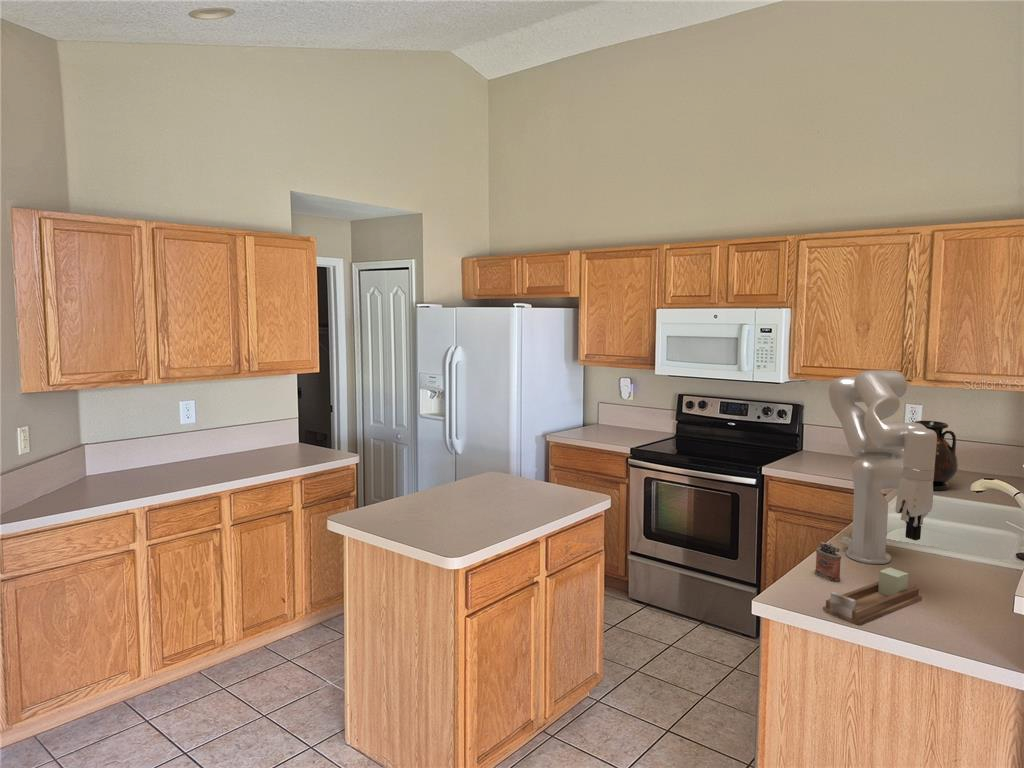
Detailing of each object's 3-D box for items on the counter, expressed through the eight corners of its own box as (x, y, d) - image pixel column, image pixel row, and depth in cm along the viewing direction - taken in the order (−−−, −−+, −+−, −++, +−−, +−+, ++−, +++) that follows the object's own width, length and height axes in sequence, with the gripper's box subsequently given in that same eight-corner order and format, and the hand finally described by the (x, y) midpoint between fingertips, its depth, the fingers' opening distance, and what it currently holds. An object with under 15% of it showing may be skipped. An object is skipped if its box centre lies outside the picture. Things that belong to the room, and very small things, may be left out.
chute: (822, 610, 180) (823, 590, 179) (884, 587, 194) (885, 568, 194) (859, 625, 171) (860, 604, 171) (921, 600, 186) (922, 580, 185)
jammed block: (878, 592, 188) (879, 571, 188) (888, 588, 191) (889, 567, 190) (896, 599, 184) (897, 577, 183) (906, 594, 187) (908, 573, 186)
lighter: (812, 573, 205) (813, 540, 204) (820, 571, 206) (822, 538, 205) (834, 583, 197) (836, 549, 196) (843, 581, 199) (844, 547, 198)
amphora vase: (960, 485, 302) (964, 422, 299) (951, 496, 286) (956, 429, 282) (904, 477, 316) (908, 417, 313) (893, 487, 299) (897, 423, 296)
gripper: (920, 467, 195) (915, 529, 198) (887, 474, 188) (883, 539, 191) (947, 473, 189) (942, 537, 191) (915, 480, 182) (910, 548, 184)
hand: (912, 538), depth 191 cm, fingers closed
